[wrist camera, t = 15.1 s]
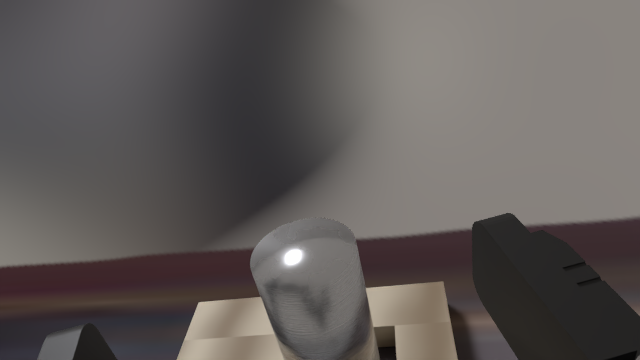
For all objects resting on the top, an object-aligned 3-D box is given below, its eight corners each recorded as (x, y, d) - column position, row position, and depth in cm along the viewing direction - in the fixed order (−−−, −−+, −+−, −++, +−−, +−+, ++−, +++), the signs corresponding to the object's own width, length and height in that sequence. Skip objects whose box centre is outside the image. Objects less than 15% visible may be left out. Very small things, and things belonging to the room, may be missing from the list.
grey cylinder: (398, 428, 27) (367, 273, 21) (309, 452, 27) (252, 303, 21) (373, 350, 32) (343, 205, 26) (297, 371, 32) (248, 229, 26)
